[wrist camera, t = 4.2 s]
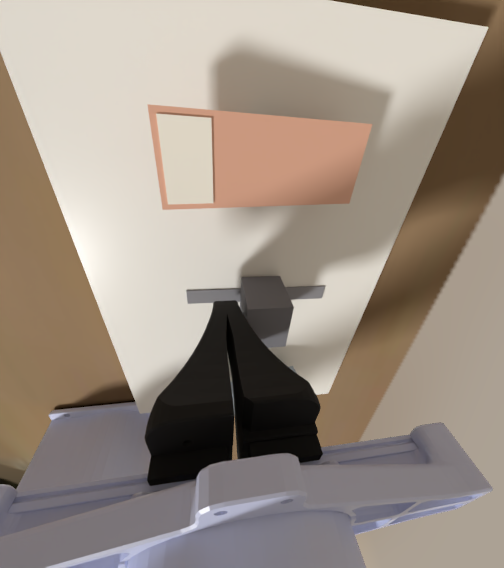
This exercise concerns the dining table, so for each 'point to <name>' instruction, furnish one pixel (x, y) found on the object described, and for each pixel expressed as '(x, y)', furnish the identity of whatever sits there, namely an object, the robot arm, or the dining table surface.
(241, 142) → the pink plate with label
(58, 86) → the switch panel
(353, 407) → the dining table surface
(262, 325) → the block
